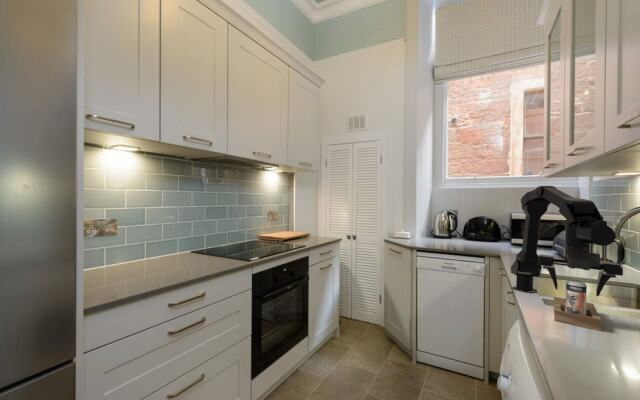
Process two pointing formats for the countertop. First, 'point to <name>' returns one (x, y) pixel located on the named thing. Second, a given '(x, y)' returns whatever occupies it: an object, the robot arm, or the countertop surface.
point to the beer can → (576, 297)
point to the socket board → (577, 315)
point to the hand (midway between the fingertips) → (576, 292)
